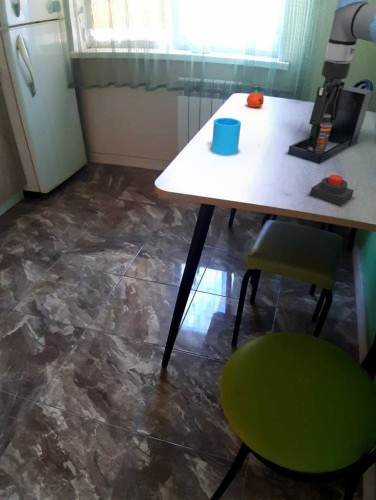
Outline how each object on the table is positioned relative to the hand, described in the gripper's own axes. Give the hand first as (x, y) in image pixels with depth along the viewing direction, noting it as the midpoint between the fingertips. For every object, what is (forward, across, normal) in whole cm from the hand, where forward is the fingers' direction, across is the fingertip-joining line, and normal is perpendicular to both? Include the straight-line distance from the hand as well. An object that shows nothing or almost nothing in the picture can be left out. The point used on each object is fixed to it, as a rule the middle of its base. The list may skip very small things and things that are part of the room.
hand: (317, 144), depth 134 cm
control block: (+3, -28, -19) cm, 34 cm away
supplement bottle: (+3, 0, 0) cm, 3 cm away
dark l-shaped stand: (+3, +6, 0) cm, 6 cm away
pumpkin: (+3, +30, +44) cm, 53 cm away
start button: (-1, -28, -19) cm, 34 cm away
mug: (+3, -19, +23) cm, 30 cm away
